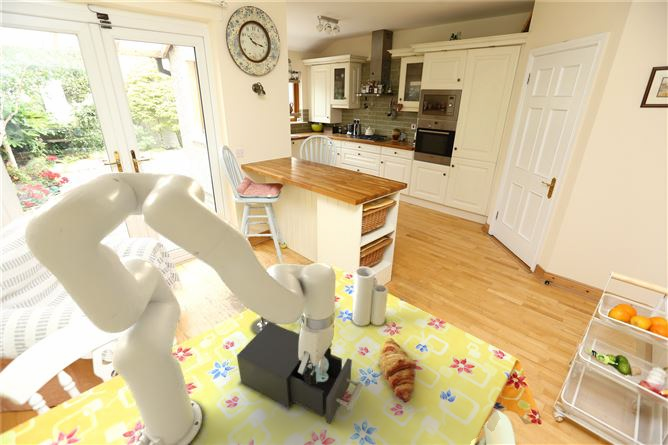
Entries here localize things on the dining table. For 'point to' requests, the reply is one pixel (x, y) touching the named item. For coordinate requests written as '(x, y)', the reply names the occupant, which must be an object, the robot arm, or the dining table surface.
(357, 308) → the vase
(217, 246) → the robot arm
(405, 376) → the croissant
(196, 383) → the dining table surface
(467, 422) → the dining table surface
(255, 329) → the wine glass
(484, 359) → the dining table surface
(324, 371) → the pacifier
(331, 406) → the drawer
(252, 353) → the cabinet
